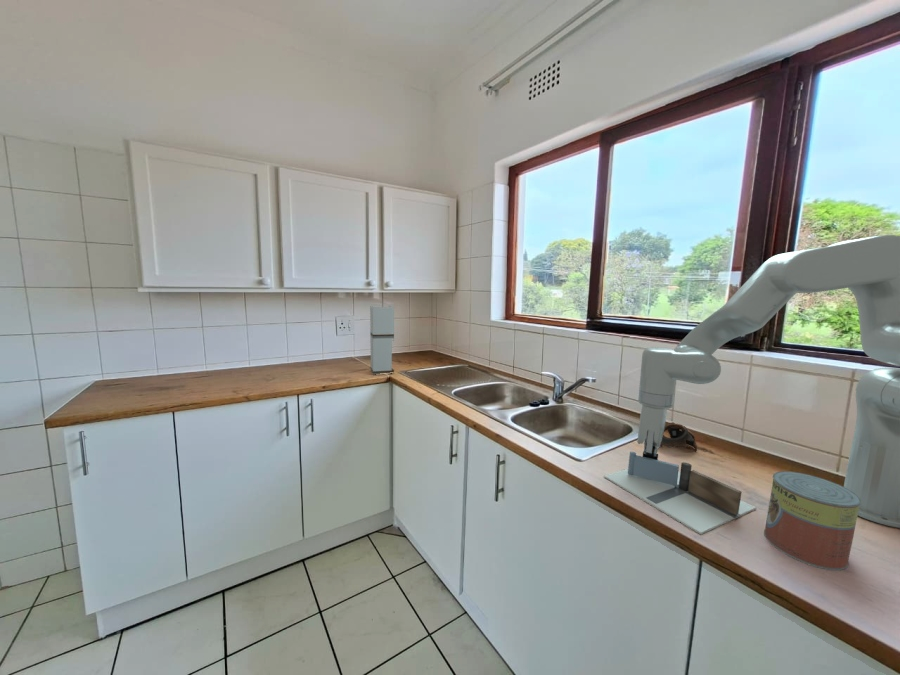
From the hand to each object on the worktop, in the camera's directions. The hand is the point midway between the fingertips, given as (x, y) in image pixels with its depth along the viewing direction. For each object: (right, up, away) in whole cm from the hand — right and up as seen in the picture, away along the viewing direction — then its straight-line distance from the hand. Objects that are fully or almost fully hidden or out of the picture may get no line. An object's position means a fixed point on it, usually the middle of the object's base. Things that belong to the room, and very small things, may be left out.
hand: (649, 468), depth 91 cm
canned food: (+16, -6, -24) cm, 29 cm away
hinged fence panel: (-1, -2, -3) cm, 3 cm away
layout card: (+2, -3, -7) cm, 8 cm away
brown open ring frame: (+18, 0, +18) cm, 26 cm away
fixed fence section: (+7, -4, -10) cm, 13 cm away
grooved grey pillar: (-87, +14, +102) cm, 134 cm away
